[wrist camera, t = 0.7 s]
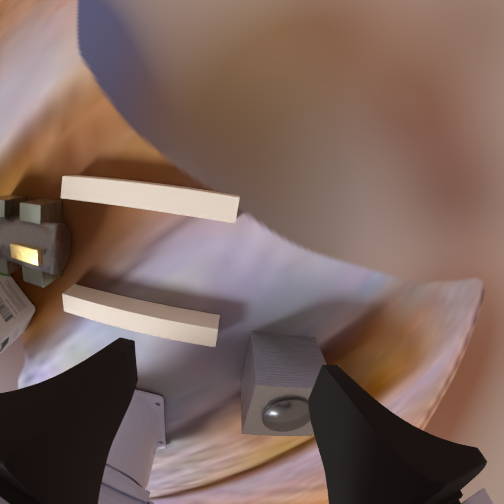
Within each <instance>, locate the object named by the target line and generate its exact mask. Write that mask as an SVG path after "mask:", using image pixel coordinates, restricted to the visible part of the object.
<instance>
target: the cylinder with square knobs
mask: <svg viewBox="0 0 504 504" xmlns="http://www.w3.org/2000/svg"><path fill="white" fill-rule="evenodd" d="M62 204H63V201H61V200H53V199H45V198H40V199H35V200H30V201H26V196H18V195H6V196H1V197H0V272H2V273H4V274H7V275H9V274H11V273H13V272H15V271H17V270H18V269H20V268H22V273H23V281H26V282H29V283H31V284H34V285H37V286H40V287H43V288H44V287H45V286H47V285H48V284H50V283H51V282H53V281H54V280H56V279H57V278H59V277H60V276H62V275H63V271H62V270H63V269H64V267H65V266H66V264H67V262H68V259H69V255H70V250H71V236H70V232H69V229H68V228H67V226H66V225H65V224H63V223H62Z"/></svg>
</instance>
